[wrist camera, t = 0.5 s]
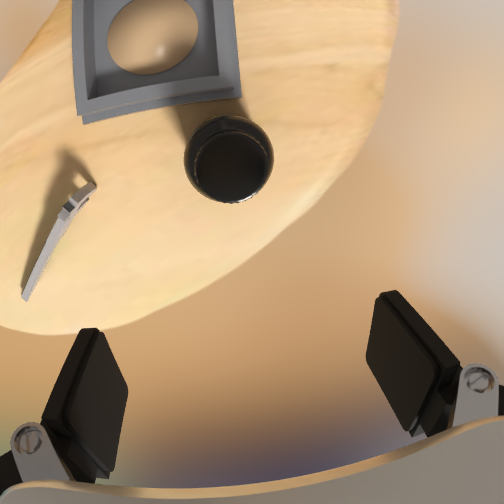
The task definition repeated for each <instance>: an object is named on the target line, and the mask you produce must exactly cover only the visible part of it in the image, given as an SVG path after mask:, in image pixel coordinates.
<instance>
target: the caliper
mask: <svg viewBox="0 0 504 504" xmlns="http://www.w3.org/2000/svg"><path fill="white" fill-rule="evenodd" d="M96 189H97V187H96V186H95V185H94V184H93V183H91V182H89V183H88V184H86V185H85V186H83V187H82V188H80V189H79V190H78V191H77V192H76V193H75V194H74V195H72V196H71V197H70V199H69V201H68V202H67V203H66V204H65V205H63V206H62V208H63V209H62V210H61V211H60V213H59V214H58V215H57V216H58V217H59V218H58V219H57V221H56V223H55V225H54V227H53V229H52V231H51V233H50V234H49V236H48V238H47V240H46V244H45V246H44V248H43V250H42V252H41V254H40V256H39V258H38V260H37V262H36V264H35V267H34V269H33V271H32V273H31V275H30V277H29V280H28V282H27V284H26V287H25V289H24V291H23V294H22V299H24V300H25V301H26V302H27V301H28V299H29V297H30V296H31V294H32V292H33V290H34V288H35V286H36V284H37V282H38V280H39V278H40V276H41V274H42V272H43V270H44V268H45V266H46V264H47V262H48V260H49V258H50V256H51V254H52V253H53V251H54V249H55V247H56V245H57V244H58V242H59V240H60V238H61V237H62V236H63V235H64V234H65V232H66V230H67V228H68V227H69V225H70V223H71V221H72V219H73V217H74V216H75V215H76V214H77V213H78V212H79V211H80V210H81V208H82V207H83V206H84V205H85V204H86V203H87V202H88V200H89V198H88V197H89V196H90V195H91V194H92V193H93V192H94V191H95V190H96Z"/></svg>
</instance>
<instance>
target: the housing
mask: <svg viewBox="0 0 504 504" xmlns="http://www.w3.org/2000/svg"><path fill="white" fill-rule="evenodd" d="M72 55H73V74H74V88H75V99H76V109H77V116H82V120H83V125H84V124H89V123H93V122H97V121H101V120H105V119H109V118H114V117H118V116H122V115H127V114H132V113H137V112H142V111H147V110H152V109H158V108H163V107H169V106H175V105H182V104H189V103H196V102H204V101H212V100H222V99H232V98H241V97H242V94H241V83H240V72H239V61H238V50H237V39H236V28H235V17H234V6H233V0H73V2H72Z"/></svg>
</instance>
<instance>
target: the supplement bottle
mask: <svg viewBox="0 0 504 504" xmlns="http://www.w3.org/2000/svg"><path fill="white" fill-rule="evenodd" d="M273 164H274V153H273V147H272V144H271V142H270V139H269V138H268V136H267V134H266V133H265V132H264V131H263V129H262V128H261V127H260V126H258V125H257V124H256V123H254V122H253V121H251V120H249V119H247V118H244V117H241V116H237V115H230V114H222V115H217V116H214V117H211V118H209V119H207V120H206V121H204V122H203V123H202V124H201V125H200V126H199V127H198V128H197V129H196V130H195V131H194V132H193V133H192V135H191V136H190V138H189V140H188V142H187V145H186V148H185V152H184V167H185V172H186V175H187V177H188V179H189V181H190V183H191V184H192V185H193V187H194V188H195V189H196V190H197V191H198V192H199V193H200V194H202V195H203V196H205V197H207V198H209V199H211V200H214V201H217V202H223V203H230V204H232V203H239V202H241V201H246V200H247V199H249V198H252V197H253V195H255V194H257V193H258V191H260V190H261V189H262V188H263V186H264V185H265V184H266V182H267V181H268V179H269V177H270V175H271V172H272V169H273Z"/></svg>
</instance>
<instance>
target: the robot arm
mask: <svg viewBox="0 0 504 504" xmlns="http://www.w3.org/2000/svg"><path fill="white" fill-rule="evenodd" d="M366 361H367V364H368V366H369V367H370V369H371V371H372V373H373V375H374V376H375V378H376V380H377V382H378V383H379V385H380V387H381V389H382V391H383V392H384V394H385V396H386V398H387V400H388V401H389V403H390V405H391V407H392V409H393V411H394V412H395V414H396V416H397V418H398V420H399V422H400V424H401V426H402V427H403V429H404V430H405V431H409V433H410V434H411V437H414V436H417V435H420V434H422V433H424V432H425V434H426V436H427V437H428V438H426V439H424V440H421V441H419V442H416V443H413V444H410V445H408V446H405V447H402V448H399V449H397V450H394V451H391V452H388V453H386V454H382V455H380V456H376V457H373V458H370V459H367V460H364V461H361V462H357V463H354V464H350V465H347V466H343V467H339V468H335V469H331V470H327V471H323V472H318V473H314V474H310V475H305V476H300V477H294V478H289V479H283V480H277V481H270V482H264V483H256V484H248V485H239V486H227V487H212V488H189V489H162V488H161V489H160V488H138V487H123V486H110V485H101V484H94V483H95V480H96V478H104V479H109V475H110V472H112V471H113V470H114V468H115V461H116V455H117V449H118V444H119V438H120V433H121V427H122V422H123V416H124V412H125V406H126V402H127V397H128V387H127V384H126V382H125V380H124V378H123V376H122V374H121V372H120V369H119V367H118V365H117V363H116V360H115V358H114V356H113V354H112V352H111V349H110V347H109V344H108V342H107V340H106V337H105V335H104V333H103V332H100V331H99V330H98V329H97V328H83V329H81V330H80V331H79V333H78V335H77V338H76V340H75V342H74V344H73V346H72V348H71V350H70V352H69V354H68V356H67V358H66V361H65V363H64V365H63V367H62V370H61V372H60V374H59V376H58V378H57V381H56V383H55V385H54V388H53V390H52V392H51V395H50V397H49V400H48V402H47V405H46V407H45V410H44V412H43V415H42V417H41V418H42V420H41V423H40V424H39V423H35V422H28V423H25V424H22V425H21V426H19V427H18V428H17V429H16V430H15V431H14V433H13V435H12V437H11V441H10V445H11V450H10V451H9V452H7V453H5V454H4V455H2V456H0V504H504V386H502V385H499V383H498V378H497V376H496V374H495V373H494V372H493V370H492V369H490V368H489V367H487V366H485V365H482V364H470V365H467V366H466V367H464V368H462V367H461V366H460V361H459V360H458V359H457V358H456V357H455V355H454V354H453V353H452V352H451V351H450V349H449V348H448V347H447V346H446V345H445V343H444V342H443V341H442V340H441V339H440V338H439V337H438V335H437V334H436V333H435V332H434V331H433V330H432V329H431V327H430V326H429V325H428V324H427V323H426V322H425V320H424V319H423V318H422V317H421V316H420V315H419V314H418V313H417V312H416V311H415V309H414V308H413V307H412V306H411V305H410V304H409V303H408V302H407V301H406V299H405V298H404V297H403V296H402V295H401V294H400V293H399V292H398V291H397V290H393V291H388V292H382V293H381V294H380V295H379V297H378V298H376V300H375V305H374V312H373V318H372V325H371V330H370V335H369V341H368V346H367V351H366Z"/></svg>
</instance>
